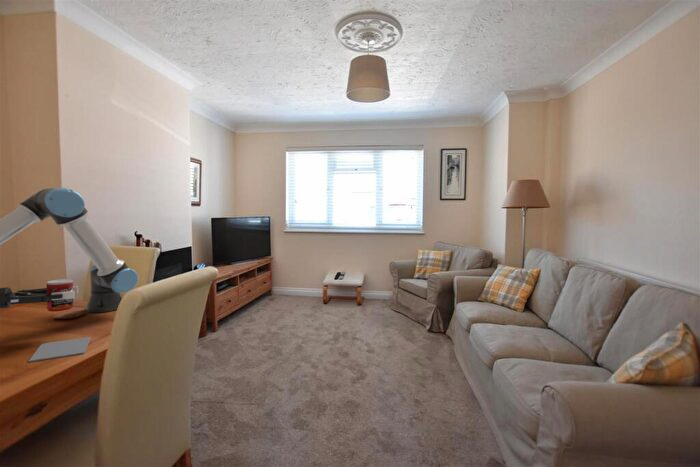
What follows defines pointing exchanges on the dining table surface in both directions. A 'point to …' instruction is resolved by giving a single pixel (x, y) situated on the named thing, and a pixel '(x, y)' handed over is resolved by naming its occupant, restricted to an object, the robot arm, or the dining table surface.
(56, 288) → the canned food
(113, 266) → the robot arm
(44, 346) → the rubber mat
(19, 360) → the dining table surface
